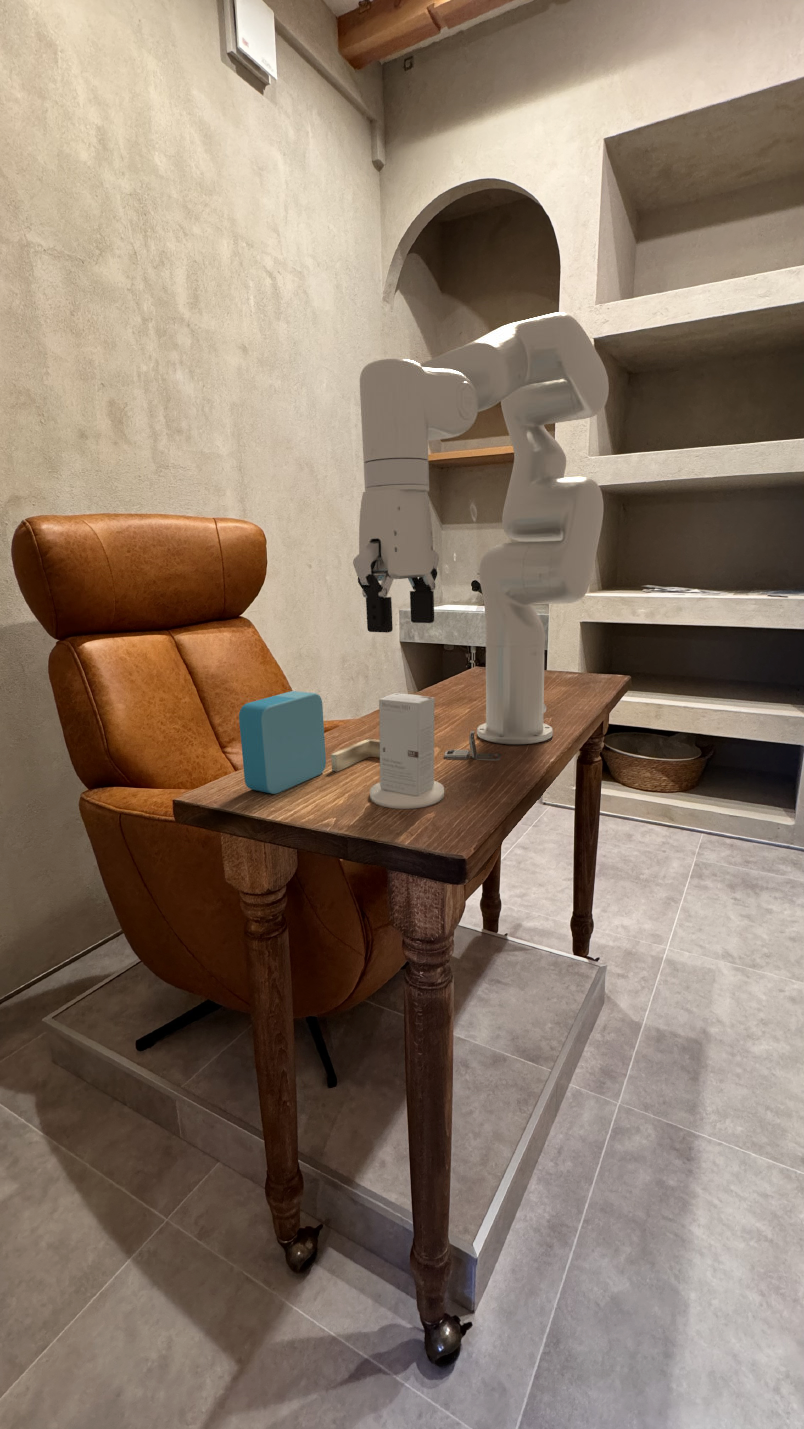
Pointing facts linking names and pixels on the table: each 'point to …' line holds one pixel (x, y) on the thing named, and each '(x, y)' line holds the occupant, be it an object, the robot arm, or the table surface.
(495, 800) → the table surface
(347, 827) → the table surface
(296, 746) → the data package
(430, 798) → the ceramic coaster
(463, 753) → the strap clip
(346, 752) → the stand
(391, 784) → the skincare box
